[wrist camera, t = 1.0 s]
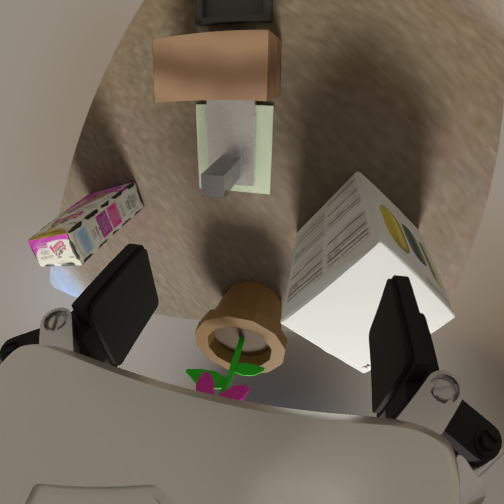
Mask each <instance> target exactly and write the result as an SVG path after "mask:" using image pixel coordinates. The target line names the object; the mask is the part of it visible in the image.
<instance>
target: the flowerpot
mask: <svg viewBox="0 0 504 504" xmlns="http://www.w3.org/2000/svg"><path fill="white" fill-rule="evenodd" d="M281 307H282V303H281V301H280V299H279V298H278V296H277V294H276V292H275V291H273V290H271V289H270V288H268V287H267V286H265V285H264V284H261V283H256V282H250V281H245V282H241V283H237V284H233V285H232V286H231V288H230V289H229V290H228V291H227V292H226V293H225V295H224V297H223V298H222V300H221V301H220V303H219V304H218V306H217V307H216V309H213V310H210V311H209V312H208V313H207V314H206V315H205V316H204V317H203V319H202V320H201V321H200V322H199V324H198V326H197V329H196V331H195V333H196V340H197V346H198V347H199V348H200V349H201V351H202V352H203V353H204V354H205V355H206V356H207V357H208V359H209V360H211V361H213V362H215V363H217V364H218V365H220V366H222V367H224V368H226V369H228V370H229V371H228V374H227V377H226V378H225V377H223V376H222V375H220V374H218V373H217V372H215V371H209V370H204V369H187V370H186V373H187V374H188V375H189V376H190V377H191V378H192V380H193V381H194V382H195V383H196V391H199V392H203V393H207V394H212V395H214V390H215V389H221V391H220V393H219V395H218V396H221V397H225V398H230V399H235V400H240V401H243V400H244V398H245V397H246V395H247V394H248V392H249V391H250V389H249V388H248V387H247V385H239V386H233V387H231V388H229V387H230V384H231V382H232V380H233V376H234V373H238V374H240V375H243V376H254V375H257V374H259V373H264V372H270V371H271V370H273V369H274V368H276V367H278V366H279V365H281V364H282V362H283V358H284V353H285V349H286V343H287V338H286V337H285V335H284V333H283V332H282V330H281V322H280V320H281Z"/></svg>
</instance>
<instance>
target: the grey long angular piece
mask: <svg viewBox="0 0 504 504" xmlns="http://www.w3.org/2000/svg"><path fill="white" fill-rule="evenodd" d="M206 101H207V140H208V168H207V169H206V170H205V171H204V172H203V173H202V174H201V189H202V197H212V198H223V199H224V198H225V197H226V196H227V194H228V193H229V192H230V190H231V189H232V187H233V186H234V185H242V186H254V184H255V150H256V103H257V101H253V100H206Z"/></svg>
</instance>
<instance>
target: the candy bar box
mask: <svg viewBox="0 0 504 504" xmlns="http://www.w3.org/2000/svg"><path fill="white" fill-rule="evenodd" d="M143 208H144V205H143V203H142V200H141V197H140V194H139V191H138V188H137V186H136V183H135V182H131V183H127V184H123V185H120V186H116V187H112V188H108V189H105V190H101V191H97V192H94V193H90V194H89V195H87V196H86V197H84V198H83V199H82V200H80V201H79V202H77V203H76V204H75V205H73V206H72V207H70V208H69V209H68V210H66V211H65V212H64V213H62V214H61V215H60V216H58V217H57V218H56V219H54V220H53V221H52V222H50V223H49V224H48V225H46V226H45V227H44V228H42V229H41V230H40V231H39V232H38V233H36V234H35V235H34V236H32V237H31V238H30V239H29V240H28V243H29V245H30V247H31V249H32V251H33V253H34V254H35V256H36V258H37V260H38V262H39V264H40V266H41V267H44V266H70V265H83V264H84V263H85V262H86V261H87V260H88V259H89V258H90V257H91V256H92V255H93V254H94V253H95V252H96V251H97V250H98V249H99V248H100V247H101V246H102V245H103V244H104V243H105V242H106V241H107V240H108V239H109V238H110V237H112V236H113V235H114V234H115V233H116V232H117V231H118V230H119V229H120V228H121V227H122V226H123V225H124V224H126V223H127V222H128V221H129V220H130V219H131V218H132V217H134V216H135V215H136V214H137V213H138V212H139V211H140V210H141V209H143Z"/></svg>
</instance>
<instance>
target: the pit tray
mask: <svg viewBox="0 0 504 504" xmlns="http://www.w3.org/2000/svg"><path fill="white" fill-rule="evenodd" d="M254 22H272V0H196V25H199V26H203V25H214V24H228V23H254Z"/></svg>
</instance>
